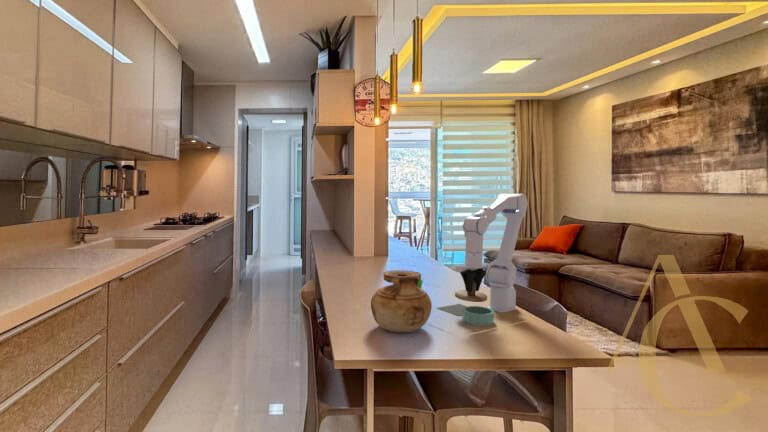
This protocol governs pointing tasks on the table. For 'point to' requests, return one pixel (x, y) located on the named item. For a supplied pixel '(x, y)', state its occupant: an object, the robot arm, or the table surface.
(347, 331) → the table surface
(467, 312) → the bowl
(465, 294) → the lid
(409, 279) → the clay pot
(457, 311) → the mat
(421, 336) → the table surface
